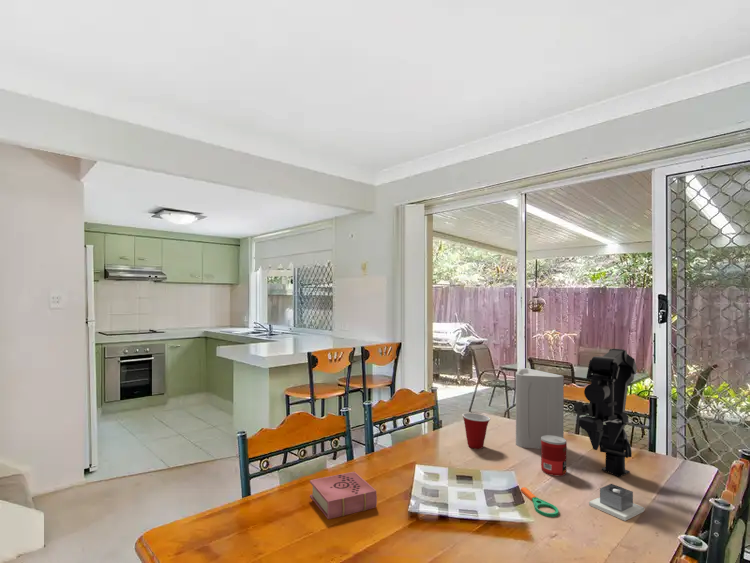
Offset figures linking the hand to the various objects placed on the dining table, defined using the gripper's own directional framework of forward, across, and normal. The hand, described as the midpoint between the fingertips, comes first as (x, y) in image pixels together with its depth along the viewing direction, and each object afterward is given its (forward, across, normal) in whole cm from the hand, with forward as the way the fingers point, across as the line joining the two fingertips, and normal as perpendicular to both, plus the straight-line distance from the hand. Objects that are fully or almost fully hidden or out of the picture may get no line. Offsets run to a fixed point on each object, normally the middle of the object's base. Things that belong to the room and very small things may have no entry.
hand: (603, 447), depth 137 cm
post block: (+12, +11, +10) cm, 19 cm away
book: (+13, +75, -33) cm, 83 cm away
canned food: (+12, +4, -15) cm, 20 cm away
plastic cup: (+12, +9, -46) cm, 48 cm away
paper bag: (+12, -13, -37) cm, 41 cm away
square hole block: (+11, +11, +10) cm, 18 cm away
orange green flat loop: (+13, +28, -3) cm, 31 cm away
